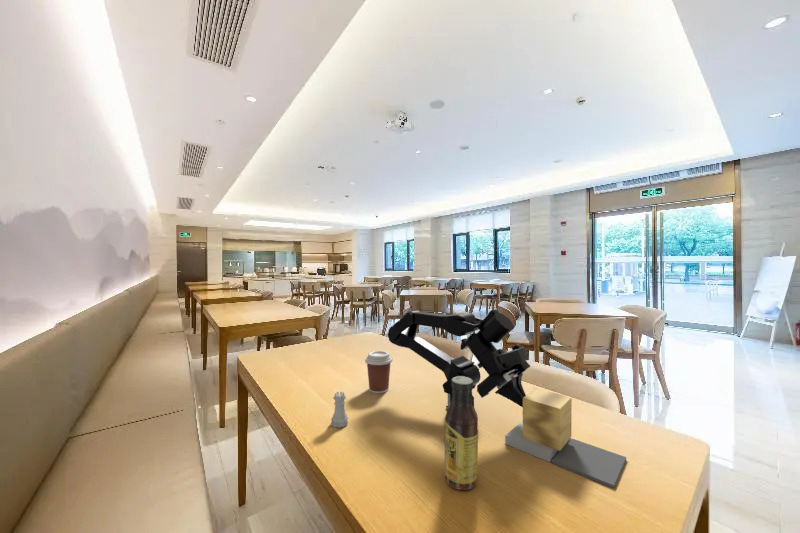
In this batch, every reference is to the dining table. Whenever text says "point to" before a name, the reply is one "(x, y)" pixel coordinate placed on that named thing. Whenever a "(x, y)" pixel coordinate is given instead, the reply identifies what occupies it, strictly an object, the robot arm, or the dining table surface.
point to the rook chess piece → (339, 411)
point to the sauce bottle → (461, 436)
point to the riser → (528, 444)
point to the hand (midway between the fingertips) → (528, 408)
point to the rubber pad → (590, 462)
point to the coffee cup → (378, 371)
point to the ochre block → (547, 418)
